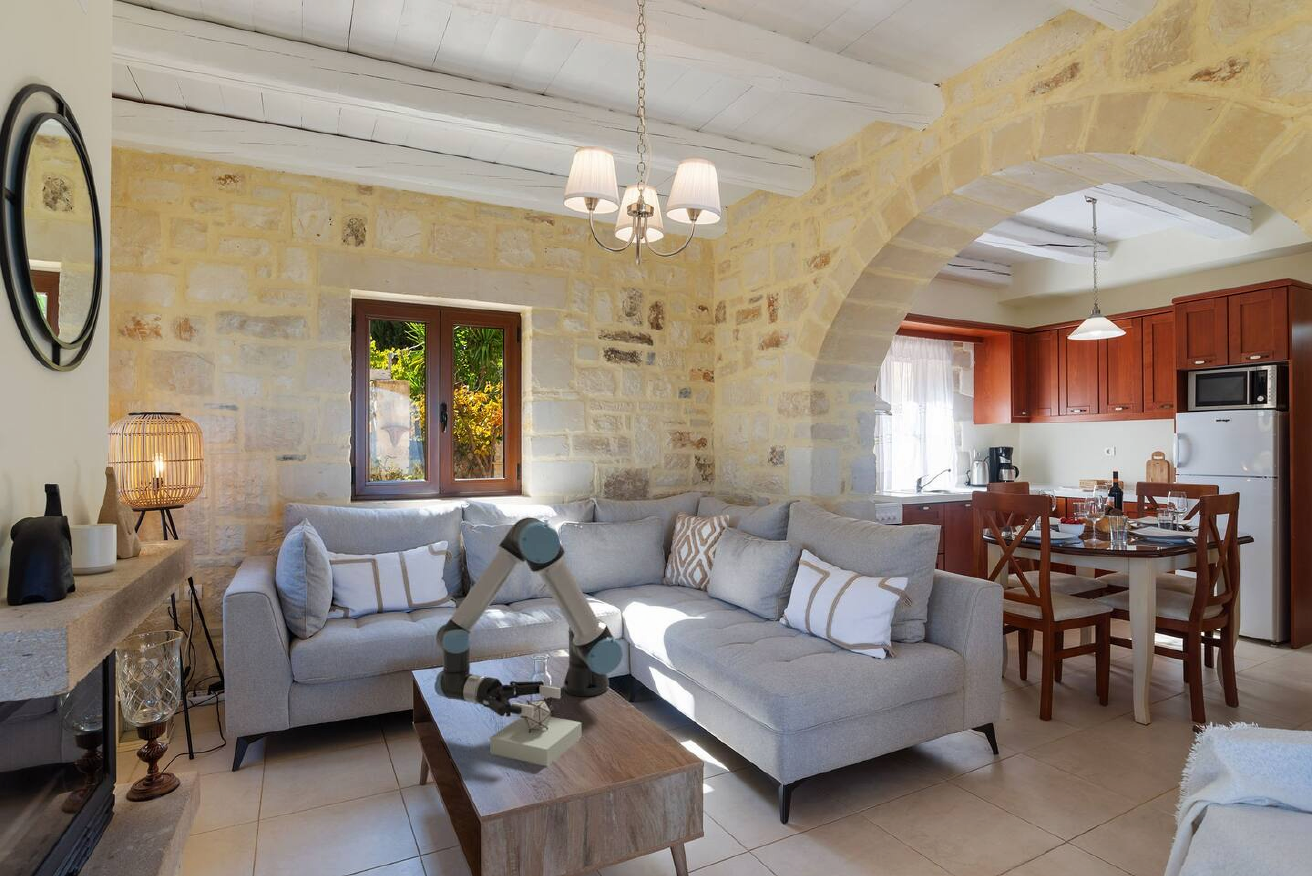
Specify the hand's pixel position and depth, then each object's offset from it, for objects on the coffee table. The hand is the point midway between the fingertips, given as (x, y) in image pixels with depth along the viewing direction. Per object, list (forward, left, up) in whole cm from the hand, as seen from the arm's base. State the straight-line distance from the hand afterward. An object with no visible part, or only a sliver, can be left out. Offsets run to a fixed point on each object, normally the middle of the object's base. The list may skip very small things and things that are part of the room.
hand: (546, 702), depth 192 cm
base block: (0, -3, -13) cm, 14 cm away
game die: (0, -3, -8) cm, 9 cm away
